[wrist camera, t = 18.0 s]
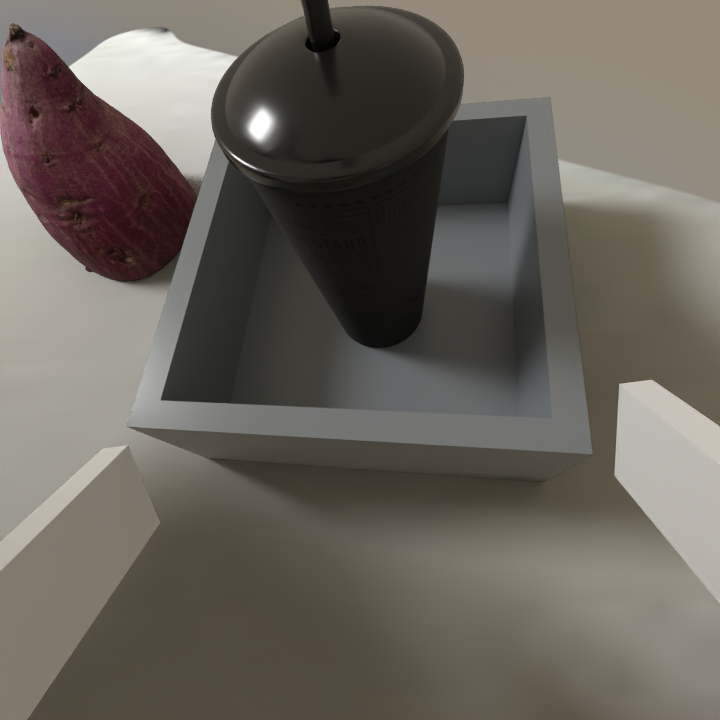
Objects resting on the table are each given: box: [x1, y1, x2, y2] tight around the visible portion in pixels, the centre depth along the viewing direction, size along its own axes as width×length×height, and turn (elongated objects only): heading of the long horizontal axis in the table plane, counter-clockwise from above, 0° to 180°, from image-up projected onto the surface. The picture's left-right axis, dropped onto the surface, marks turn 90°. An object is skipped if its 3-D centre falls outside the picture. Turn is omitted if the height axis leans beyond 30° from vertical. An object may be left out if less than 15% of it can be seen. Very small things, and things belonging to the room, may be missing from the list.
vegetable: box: [0, 23, 197, 281], centre depth 27 cm, size 10×10×15 cm
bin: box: [127, 97, 593, 482], centre depth 23 cm, size 18×18×7 cm
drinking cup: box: [211, 0, 464, 348], centre depth 16 cm, size 8×8×20 cm
